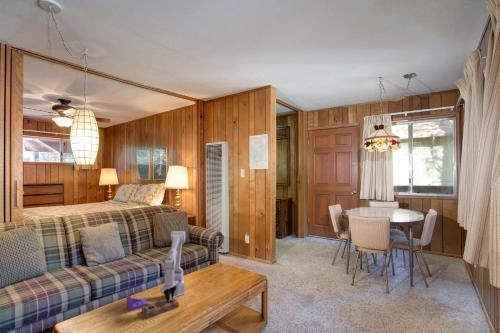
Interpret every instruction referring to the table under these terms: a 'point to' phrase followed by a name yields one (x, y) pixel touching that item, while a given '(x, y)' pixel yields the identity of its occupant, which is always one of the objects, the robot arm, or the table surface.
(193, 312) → the table surface
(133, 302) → the bracket
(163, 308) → the board
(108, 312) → the table surface
